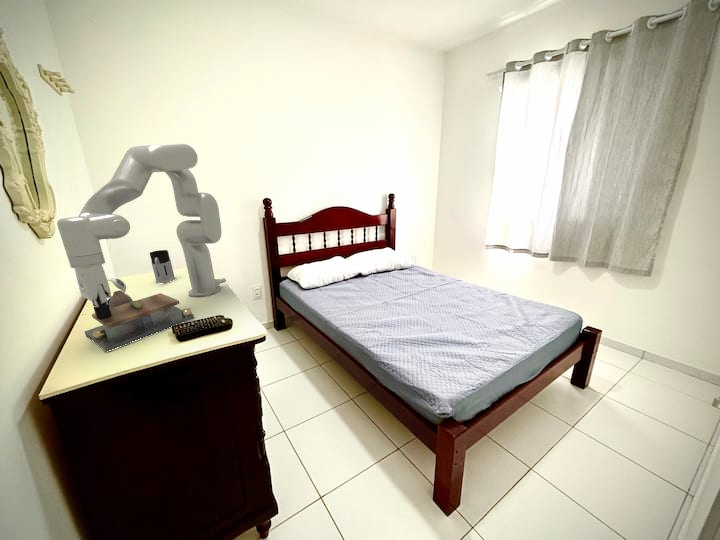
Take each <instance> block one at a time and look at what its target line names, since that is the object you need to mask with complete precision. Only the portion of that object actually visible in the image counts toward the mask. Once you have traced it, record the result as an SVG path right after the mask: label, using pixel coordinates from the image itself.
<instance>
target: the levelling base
mask: <svg viewBox="0 0 720 540" xmlns="http://www.w3.org/2000/svg"><path fill="white" fill-rule="evenodd" d="M193 319H195V314H193V313H192V309H191V308H190V307H188V308H187V307H186V308H183V309H182V308H179V307H177V306H176V305H175V306H172V307H169V308H166V309H163V310H160V311H158V312H155V313H152V314H149V315H146V316H143V317H140V318H138V319H135V320H132V321H129V322H126V323H123V324H120V325H117V326H115V327H112V328H107V327H106V326H104V325H103V324H101V325H100V326H97V327H94V328H91V329H87V330H84V332H83V333H84V335H85V337H87V336H88V337H89V338H90V340H91V341H92V340H93V341H94V342H95V344H96V343H97V344H98V345H99V346H100V347H99V346H98V345H97V344H96V345H97V346H98V347H99V348H101V347H102V348H103V349H104V350H105V352H106V351H109V350H112V349H115V348H117V347H120V346H123V345H125V344H128V343H130V342H132V341H135V340H138V339H140V338H143V337H146V336H148V337H150V336H149V335H151V334H153V335H155V334H154V333H156V332H158V333H160V332H159V331H161V332H163V331H165V330H164V329H166V330H167V328H168V329H170V328H169V327H171V326H173V325H176V324H179V325H181V324H183V323H182V322H184V323H186V322H189V321H190V320H193ZM188 320H189V321H188ZM180 323H181V324H180ZM176 326H177V325H176ZM173 327H174V326H173ZM171 328H172V327H171ZM162 330H163V331H162ZM156 334H157V333H156ZM151 336H152V335H151ZM88 337H87V338H88ZM89 338H88V339H89ZM146 338H147V337H146ZM143 339H144V338H143ZM93 341H92V342H93ZM138 341H139V340H138ZM94 342H93V343H94ZM128 345H129V344H128ZM125 346H126V345H125ZM123 347H124V346H123ZM102 348H101V349H102ZM120 348H121V347H120ZM103 349H102V350H103ZM104 350H103V351H104ZM115 350H116V349H115Z"/></svg>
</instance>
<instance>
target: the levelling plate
mask: <svg viewBox="0 0 720 540" xmlns="http://www.w3.org/2000/svg"><path fill="white" fill-rule="evenodd" d="M180 304H181V303H180V300H178V299H176V298H173V297H171V296H169V295H166V294H163V293H161V292H160V293H157V294H153V295H150V296H147V297H143V298H141V299H137V300H133V301H131V302H130V303H127V304H123V305H120V306H117V307H114V308H110V311H111V315H112V316H111V317H108V318H105V319H102V320H99V319H97V317H96V314H95V312H94V313H91V317H92V319H94V320H95V321H97V322H99V324H101V325H104V326H106V327H107V328H112V327H115V326H117V325H120V324H123V323H126V322H129V321H132V320H135V319H138V318H140V317H143V316H146V315H149V314H152V313H155V312H158V311H160V310H163V309H166V308H169V307H172V306H175V307H176V306H177V305H180Z"/></svg>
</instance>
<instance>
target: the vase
mask: <svg viewBox="0 0 720 540" xmlns="http://www.w3.org/2000/svg"><path fill="white" fill-rule="evenodd" d="M112 294H113V295H111V296H112V297H111V299H110V302H109V307H110V308H114V307H117V306H120V305H123V304H127V303H130V302H131V301H134V300H133V298H132V297H131V296H130V295H128V294H127V293H126V292H125V293H124V292H123V291H122V290H121V289H119V290H115V291H113V293H112Z"/></svg>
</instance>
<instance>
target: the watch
mask: <svg viewBox="0 0 720 540" xmlns="http://www.w3.org/2000/svg"><path fill="white" fill-rule="evenodd" d="M107 281H108V282H111V283H112V285H113V286H114V287H116V288H117V289H118V290H121V291H122V292H124V293H125V294H126V292H127V284H125V282H124V281H123V280H122V279H119V278H114V277H111V278H107ZM112 296H113V295H112V294H111V295H110V296H109V297H108V296H106V297H107V301H108V304H109V302H110V299H111V297H112ZM109 308H110V307H109Z"/></svg>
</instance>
